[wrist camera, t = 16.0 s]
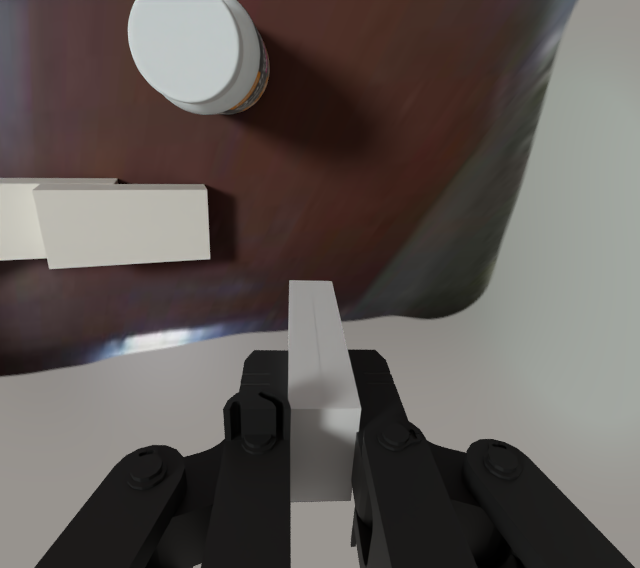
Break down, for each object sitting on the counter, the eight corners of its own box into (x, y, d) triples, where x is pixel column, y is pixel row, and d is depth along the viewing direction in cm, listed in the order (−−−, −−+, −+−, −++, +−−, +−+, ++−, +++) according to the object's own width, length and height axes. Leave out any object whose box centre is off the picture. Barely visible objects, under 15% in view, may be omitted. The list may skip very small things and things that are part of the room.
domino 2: (207, 250, 31) (55, 258, 27) (203, 184, 29) (40, 184, 25) (210, 259, 29) (49, 269, 26) (207, 189, 27) (32, 190, 24)
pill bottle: (266, 119, 27) (248, 126, 18) (180, 106, 27) (118, 107, 18) (274, 22, 25) (258, -26, 16) (180, 6, 24) (108, -53, 15)
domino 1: (126, 245, 30) (-35, 252, 27) (117, 178, 28) (-58, 177, 25) (124, 254, 29) (-48, 263, 26) (114, 183, 27) (-75, 183, 24)
